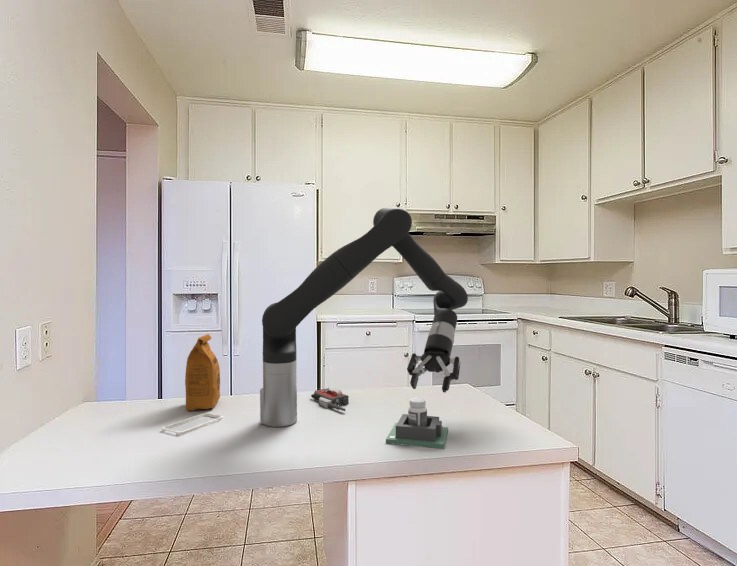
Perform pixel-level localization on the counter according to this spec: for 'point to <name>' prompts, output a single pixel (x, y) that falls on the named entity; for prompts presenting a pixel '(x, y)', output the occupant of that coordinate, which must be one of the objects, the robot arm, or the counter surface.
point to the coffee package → (202, 376)
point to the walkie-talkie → (331, 398)
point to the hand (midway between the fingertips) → (428, 389)
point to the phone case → (191, 420)
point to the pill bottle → (417, 412)
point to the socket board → (418, 433)
